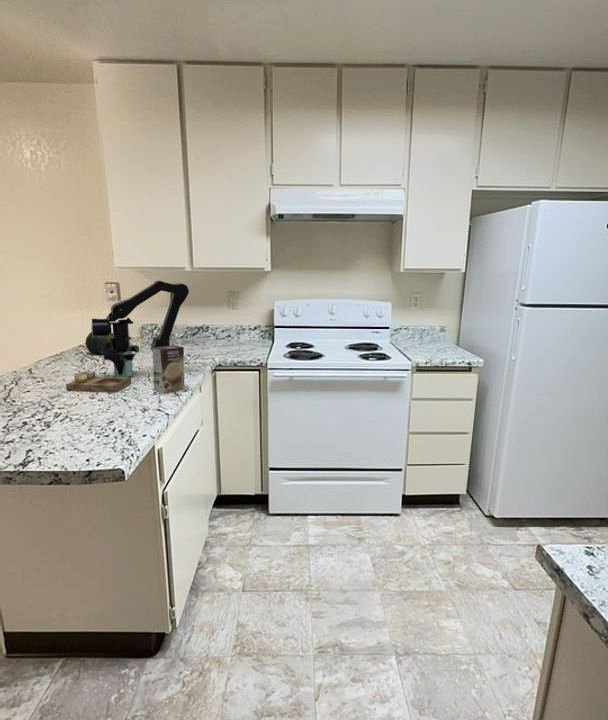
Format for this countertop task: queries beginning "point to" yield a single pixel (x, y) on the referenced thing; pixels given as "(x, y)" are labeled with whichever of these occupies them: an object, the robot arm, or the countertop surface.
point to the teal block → (126, 371)
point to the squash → (94, 340)
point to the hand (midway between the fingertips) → (123, 373)
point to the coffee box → (168, 368)
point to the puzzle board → (97, 383)
